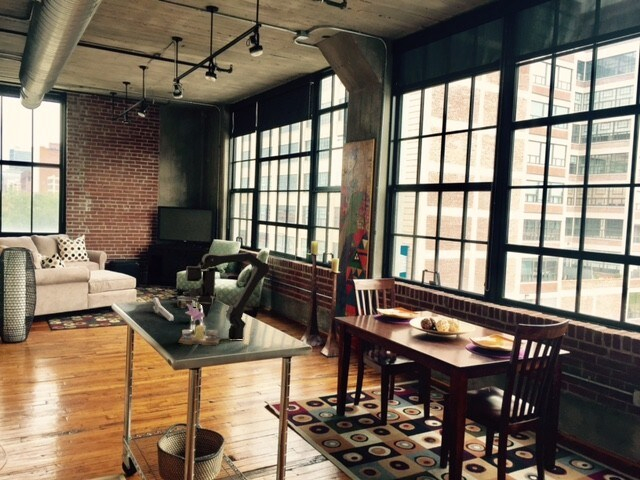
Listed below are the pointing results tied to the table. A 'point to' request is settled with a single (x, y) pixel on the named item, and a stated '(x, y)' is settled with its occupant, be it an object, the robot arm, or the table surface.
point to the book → (185, 301)
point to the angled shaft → (188, 333)
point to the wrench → (162, 309)
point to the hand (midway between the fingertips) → (207, 315)
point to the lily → (195, 313)
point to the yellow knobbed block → (200, 332)
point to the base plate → (206, 341)
